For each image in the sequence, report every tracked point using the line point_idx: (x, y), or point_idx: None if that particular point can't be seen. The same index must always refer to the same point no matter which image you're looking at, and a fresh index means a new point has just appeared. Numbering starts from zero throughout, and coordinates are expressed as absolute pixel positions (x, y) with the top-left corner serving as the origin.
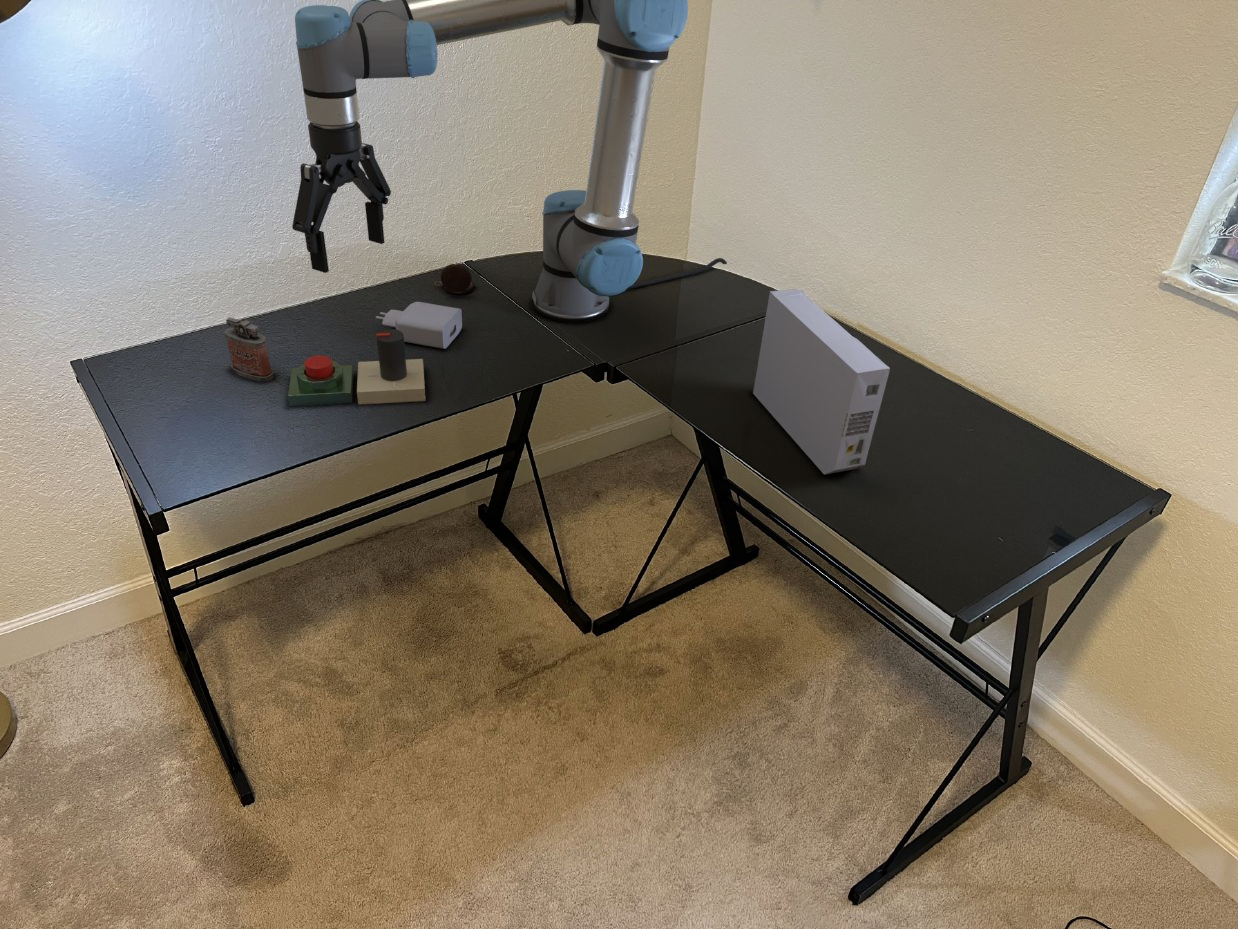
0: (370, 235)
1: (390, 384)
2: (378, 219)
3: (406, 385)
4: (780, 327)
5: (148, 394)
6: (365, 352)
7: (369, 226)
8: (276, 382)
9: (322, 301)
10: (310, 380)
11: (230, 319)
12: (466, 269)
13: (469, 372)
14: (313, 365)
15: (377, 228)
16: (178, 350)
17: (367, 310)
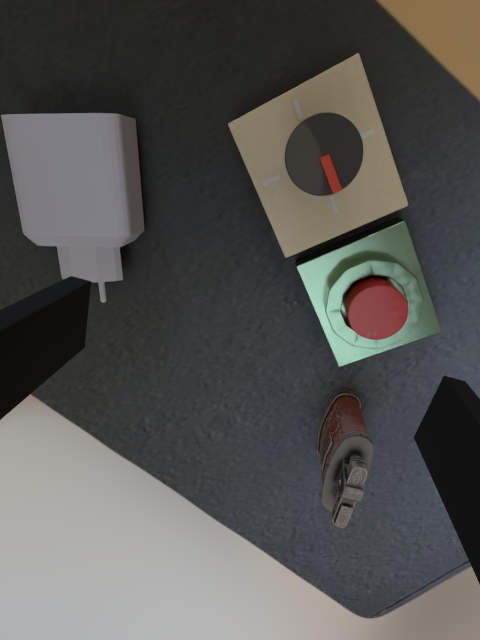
0: (72, 346)
1: None
2: (14, 329)
3: (356, 105)
4: None
5: (435, 525)
6: (204, 277)
7: (47, 367)
8: (355, 377)
9: (71, 420)
10: (417, 306)
11: (343, 521)
12: None
13: (201, 11)
14: (394, 316)
15: (49, 321)
16: (300, 540)
17: None
